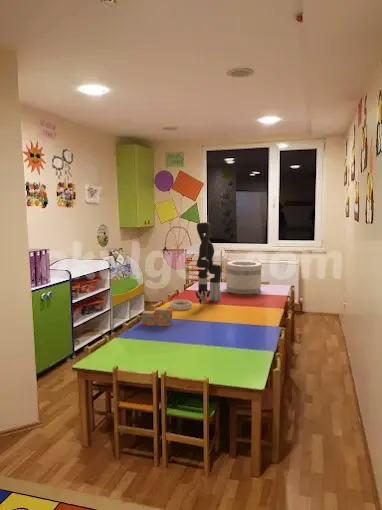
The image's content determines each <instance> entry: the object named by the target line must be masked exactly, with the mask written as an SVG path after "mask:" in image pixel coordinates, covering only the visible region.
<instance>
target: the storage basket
mask: <svg viewBox="0 0 382 510" xmlns="http://www.w3.org/2000/svg"><path fill="white" fill-rule="evenodd" d="M262 265H263V264H262V263H260V262H258V261H251V260H233V261H228V262H226V275H225V276H226V284H225V285H226V287H225V288H226V292H229V293H232V294H237V295H253V293H255V294H258V293H260V292H261V287H262V268H263V267H262Z"/></svg>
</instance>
